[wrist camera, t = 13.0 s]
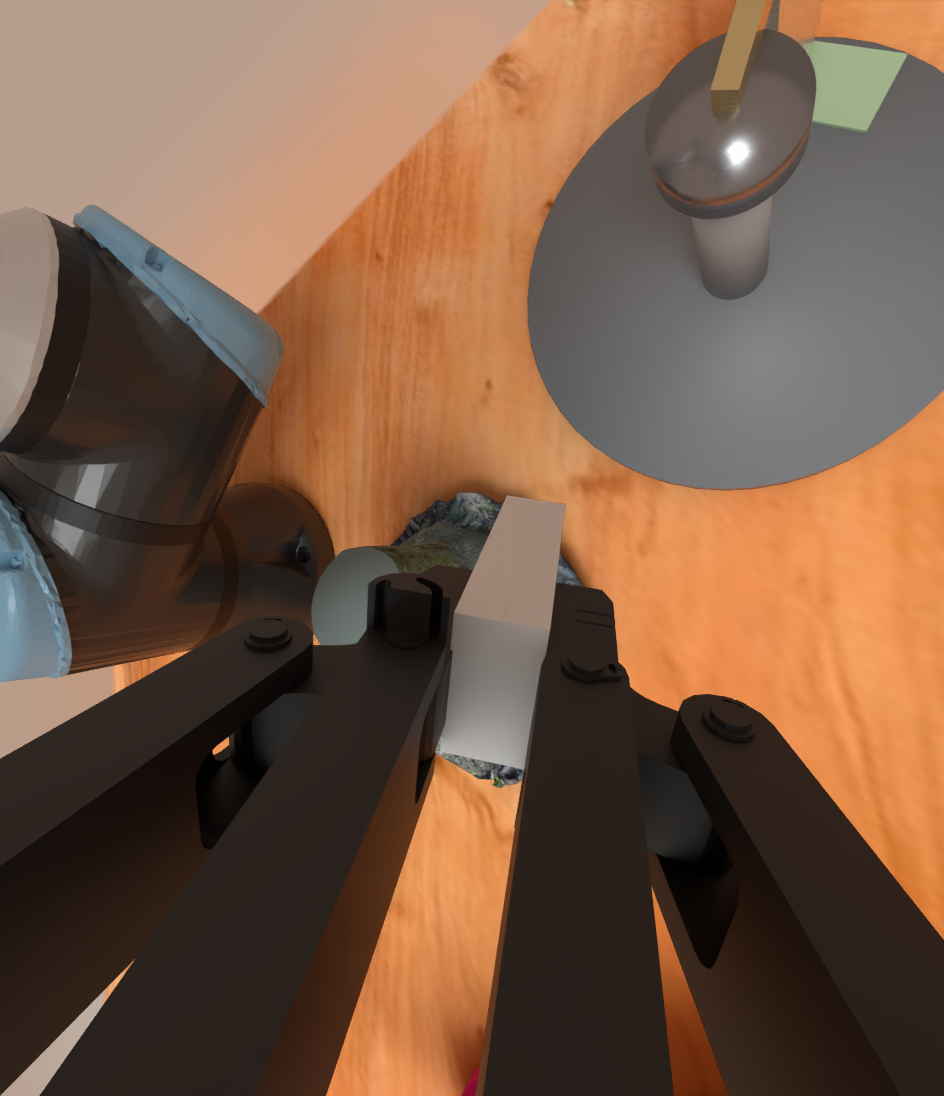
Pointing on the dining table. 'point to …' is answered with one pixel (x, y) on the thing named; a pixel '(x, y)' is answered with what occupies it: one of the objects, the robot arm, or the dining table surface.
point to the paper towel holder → (755, 291)
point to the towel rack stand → (736, 111)
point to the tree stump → (426, 542)
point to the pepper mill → (472, 1084)
